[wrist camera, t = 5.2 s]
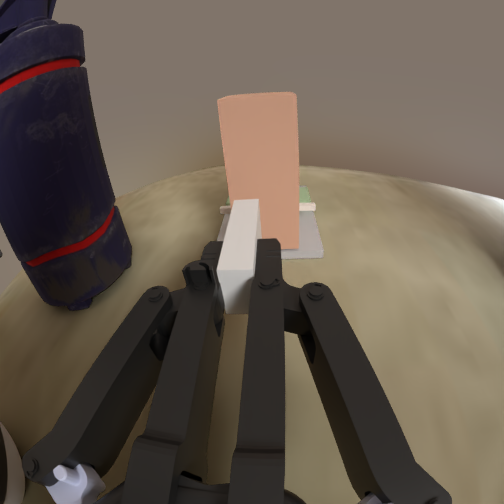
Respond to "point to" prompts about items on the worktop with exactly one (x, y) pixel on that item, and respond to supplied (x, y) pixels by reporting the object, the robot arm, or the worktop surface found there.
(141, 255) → the worktop surface
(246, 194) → the tall salmon pillar
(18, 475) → the pump dispenser
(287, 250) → the gauge base
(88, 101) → the navy red-striped canister
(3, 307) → the worktop surface
